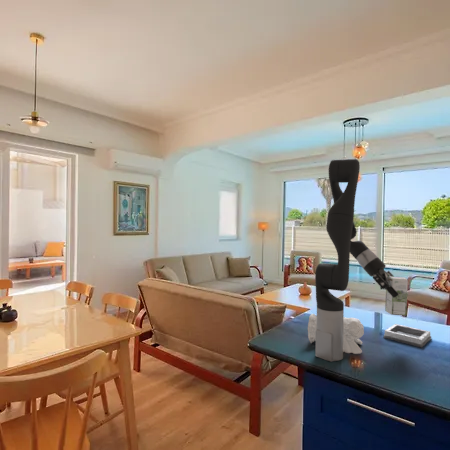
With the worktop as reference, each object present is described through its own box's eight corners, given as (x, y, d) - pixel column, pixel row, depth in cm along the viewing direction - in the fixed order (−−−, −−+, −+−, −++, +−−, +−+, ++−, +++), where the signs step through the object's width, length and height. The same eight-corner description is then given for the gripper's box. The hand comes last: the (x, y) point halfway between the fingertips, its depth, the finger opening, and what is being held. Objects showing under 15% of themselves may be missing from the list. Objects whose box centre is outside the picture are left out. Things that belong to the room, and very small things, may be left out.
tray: (421, 347, 118) (421, 340, 118) (383, 337, 128) (383, 330, 128) (431, 338, 127) (431, 331, 127) (394, 330, 138) (395, 323, 138)
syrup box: (399, 312, 123) (400, 276, 123) (407, 316, 117) (407, 278, 117) (385, 311, 123) (385, 275, 123) (391, 315, 117) (392, 277, 117)
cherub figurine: (314, 310, 131) (364, 312, 121) (316, 340, 130) (367, 344, 120) (306, 317, 119) (361, 320, 110) (308, 349, 118) (364, 355, 109)
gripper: (370, 257, 121) (401, 291, 112) (383, 256, 130) (413, 287, 122) (356, 269, 124) (386, 303, 116) (370, 267, 134) (398, 298, 126)
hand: (400, 294), depth 119 cm, fingers closed on syrup box, 8 cm apart
